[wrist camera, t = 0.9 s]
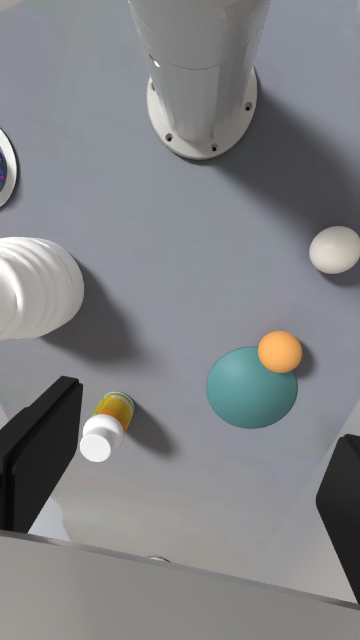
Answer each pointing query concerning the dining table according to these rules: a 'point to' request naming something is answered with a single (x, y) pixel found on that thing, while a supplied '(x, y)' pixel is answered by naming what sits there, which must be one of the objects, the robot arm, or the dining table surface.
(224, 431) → the dining table surface
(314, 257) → the white ball
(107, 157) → the dining table surface
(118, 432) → the supplement bottle
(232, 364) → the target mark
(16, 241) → the honey pot
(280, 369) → the orange ball
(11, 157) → the pudding
